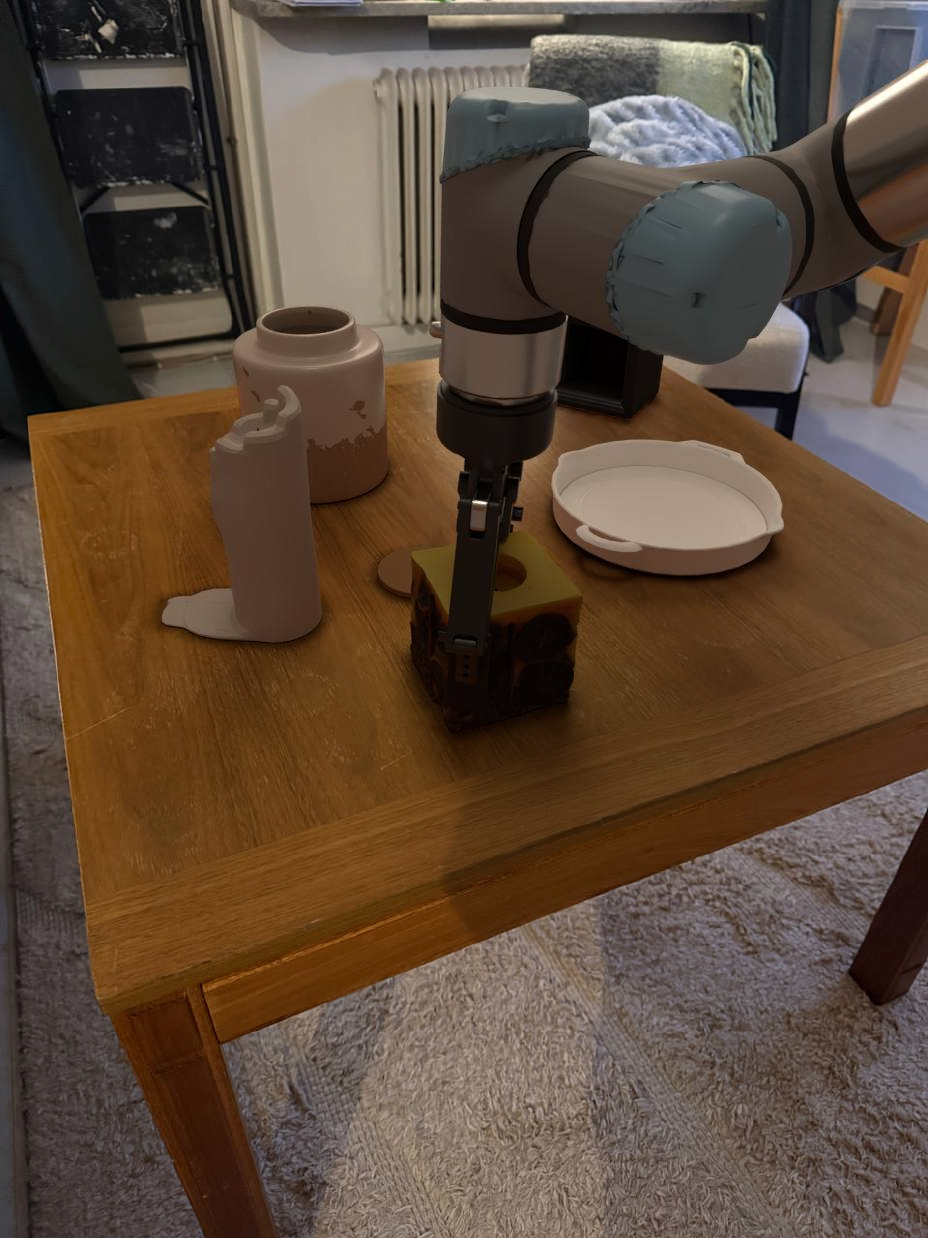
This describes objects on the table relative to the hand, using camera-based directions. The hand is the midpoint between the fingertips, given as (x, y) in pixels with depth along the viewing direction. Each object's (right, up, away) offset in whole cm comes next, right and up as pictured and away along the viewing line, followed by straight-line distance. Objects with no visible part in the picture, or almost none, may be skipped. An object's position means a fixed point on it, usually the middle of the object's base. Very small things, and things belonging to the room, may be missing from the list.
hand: (479, 645), depth 66 cm
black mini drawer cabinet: (+12, +33, +49) cm, 60 cm away
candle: (+1, -3, +2) cm, 4 cm away
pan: (+19, +12, +22) cm, 31 cm away
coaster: (-5, +6, +13) cm, 16 cm away
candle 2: (-20, +2, +8) cm, 22 cm away
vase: (-17, +18, +29) cm, 39 cm away
